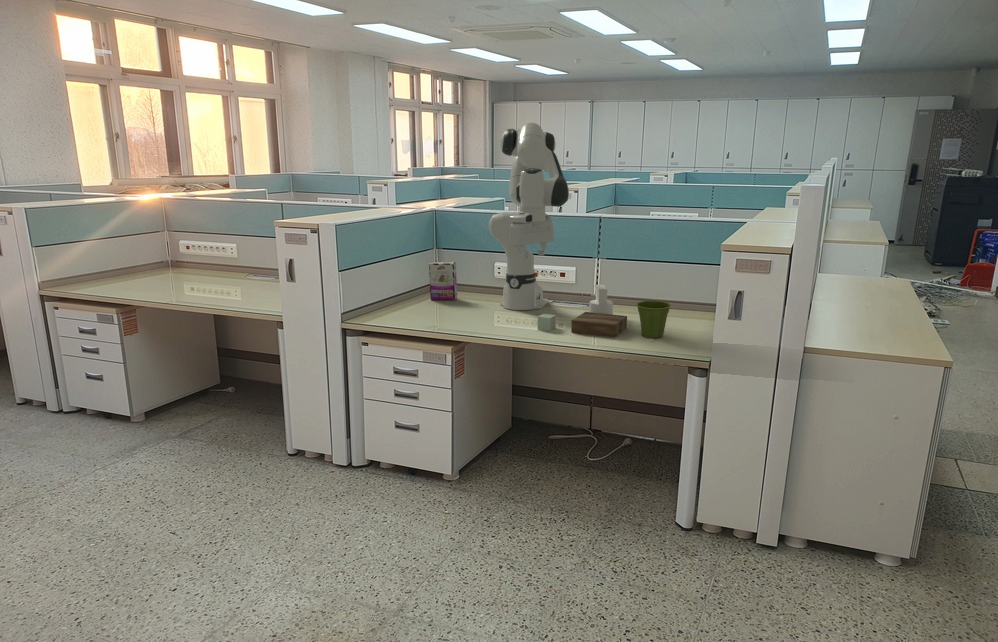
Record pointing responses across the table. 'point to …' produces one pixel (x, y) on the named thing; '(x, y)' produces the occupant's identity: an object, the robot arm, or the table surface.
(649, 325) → the plant pot
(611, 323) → the walnut block
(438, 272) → the candy bar box
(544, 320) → the sage cube
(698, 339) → the table surface
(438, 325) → the table surface
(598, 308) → the base with upright slab
